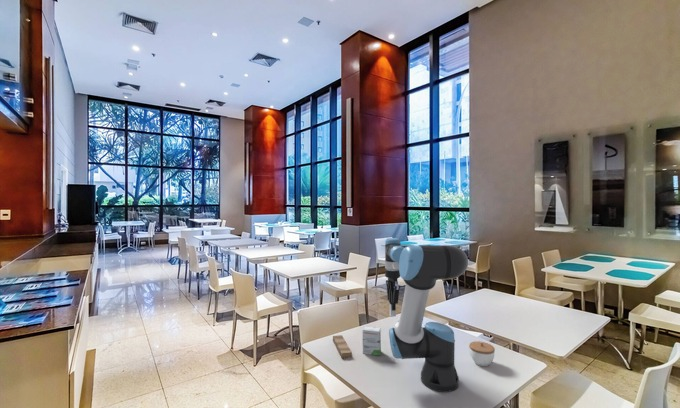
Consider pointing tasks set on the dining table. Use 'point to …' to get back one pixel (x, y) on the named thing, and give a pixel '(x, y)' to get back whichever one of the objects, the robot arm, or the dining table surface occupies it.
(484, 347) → the lidded jar
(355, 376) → the dining table surface
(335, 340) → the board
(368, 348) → the ink box
